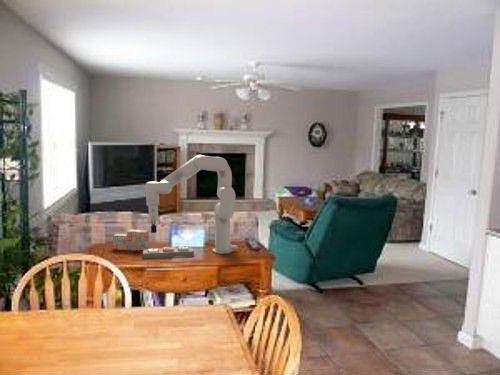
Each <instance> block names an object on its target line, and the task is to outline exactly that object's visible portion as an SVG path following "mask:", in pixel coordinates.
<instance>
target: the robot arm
mask: <svg viewBox="0 0 500 375" xmlns="http://www.w3.org/2000/svg"><path fill="white" fill-rule="evenodd" d="M202 170H203V171H204V170H205V171H210V172H216V173H217V191H216V192H217V193H216V195H217V197H218V198H219V202H217V203H216V205H215V207H214V225H215V226H214V248H212V252H213V253H214V254H220V255H221V254H222V255H224V254H225V255H226V254H230V253H232V252H233V249H238V244H237V245H235V244H231V219H232V217H233V216H234V215H235V214H234V213H235V206H236V192H235V190H234V188H233V187H232V184H233V183H232V182H233V181H232V180H233V176H232V175H233V174H232V170H231V167H230V166H229V164H228V161H227V160H226V158H224V157H220V156H210V155H202V154H197V155H195V156H194V157H192V158H190V159H189V160H188V161H187V162H185V163H184V164H182V165H181V166H180V167H178V168H177V169H176V170H174V171H172V172H170V174H168V175H167V176H165V177H164V178H162V179H160V181H159V182H158V181H146V183H145V201H146V206H147V207H148V215H149V222H150V233H151V234H153V233H155V234H156V233H157V222H159V207H158V206H159V205H160V194H162V195H168V194H170V193H171V192H172V191H173V187H174V186H176V185H177V184H180V183H181V182H184V181H187V180H188V179H189V180H190V178H191V177H193V176H194V175H195V174H197V173H199V172H200V171H202Z"/></svg>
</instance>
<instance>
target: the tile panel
mask: <svg viewBox="0 0 500 375" xmlns="http://www.w3.org/2000/svg"><path fill="white" fill-rule="evenodd" d="M187 247H188V246H187ZM148 249H149V248H148ZM148 249H143V251H142V259H162V258H161V257H164V258H176V257H175V256H186V257H194V256H195V255H194V254H195V251H194V249H193V247H192V246H191V247H188V251H178V247H173V251H172V252H164V251H163V248H157V249H158V252H149V253H148Z"/></svg>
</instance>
